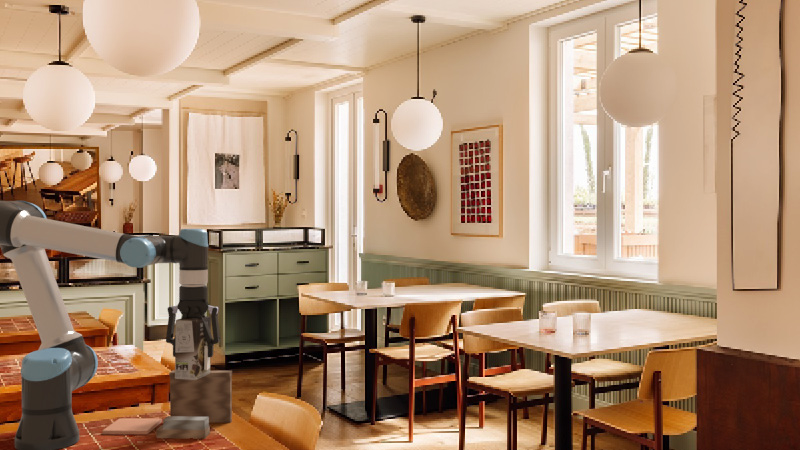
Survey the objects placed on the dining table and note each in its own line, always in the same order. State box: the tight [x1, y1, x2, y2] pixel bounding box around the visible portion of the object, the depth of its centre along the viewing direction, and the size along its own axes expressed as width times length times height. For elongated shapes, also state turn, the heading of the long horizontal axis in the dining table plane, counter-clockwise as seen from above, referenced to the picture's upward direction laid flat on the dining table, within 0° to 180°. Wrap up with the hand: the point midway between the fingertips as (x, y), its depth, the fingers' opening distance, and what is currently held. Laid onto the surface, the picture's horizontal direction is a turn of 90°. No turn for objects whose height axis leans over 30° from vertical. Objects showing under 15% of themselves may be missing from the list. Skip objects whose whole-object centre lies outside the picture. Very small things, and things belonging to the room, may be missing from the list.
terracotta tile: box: [102, 417, 163, 435], centre depth 212 cm, size 12×12×1 cm
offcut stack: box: [155, 415, 211, 440], centre depth 205 cm, size 13×4×5 cm, turn 87°
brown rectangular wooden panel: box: [168, 369, 233, 423], centre depth 218 cm, size 17×3×14 cm, turn 89°
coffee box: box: [174, 315, 212, 380], centre depth 212 cm, size 9×6×16 cm
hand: (193, 368), depth 212 cm, fingers closed on coffee box, 7 cm apart
